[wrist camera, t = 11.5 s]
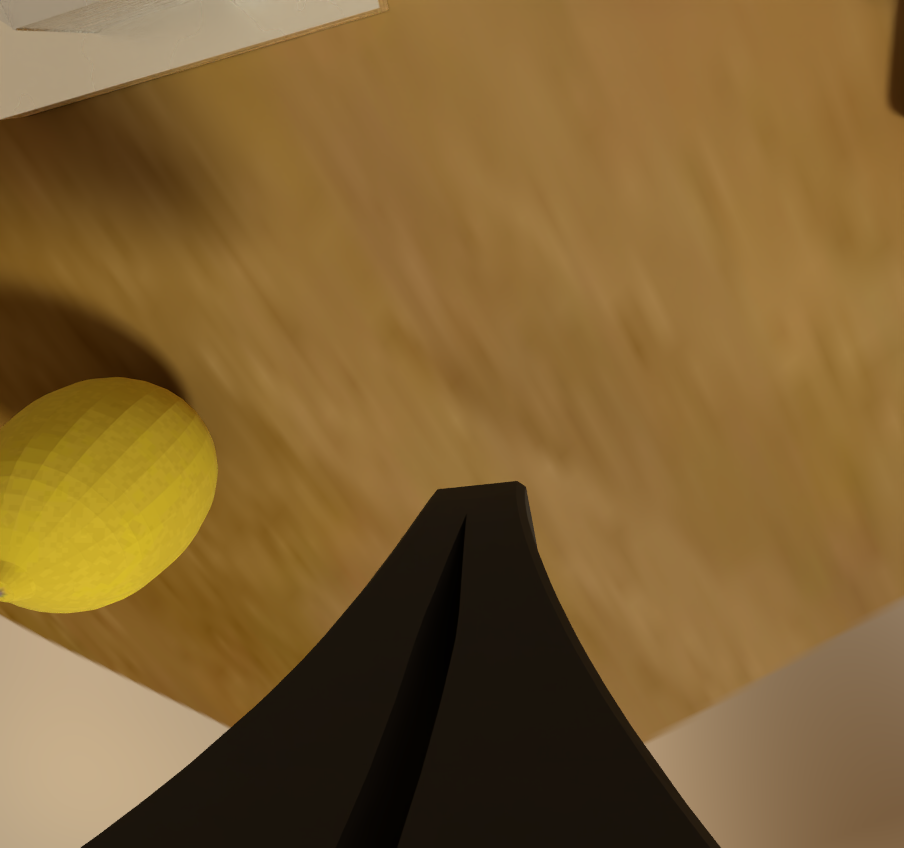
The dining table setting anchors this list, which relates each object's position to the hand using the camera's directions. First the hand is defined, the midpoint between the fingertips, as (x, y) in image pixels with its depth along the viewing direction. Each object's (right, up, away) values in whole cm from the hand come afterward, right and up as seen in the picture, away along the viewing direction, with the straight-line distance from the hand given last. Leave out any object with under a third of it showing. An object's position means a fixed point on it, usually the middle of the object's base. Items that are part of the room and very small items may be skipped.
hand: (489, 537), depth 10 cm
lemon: (-10, +2, +11) cm, 15 cm away
